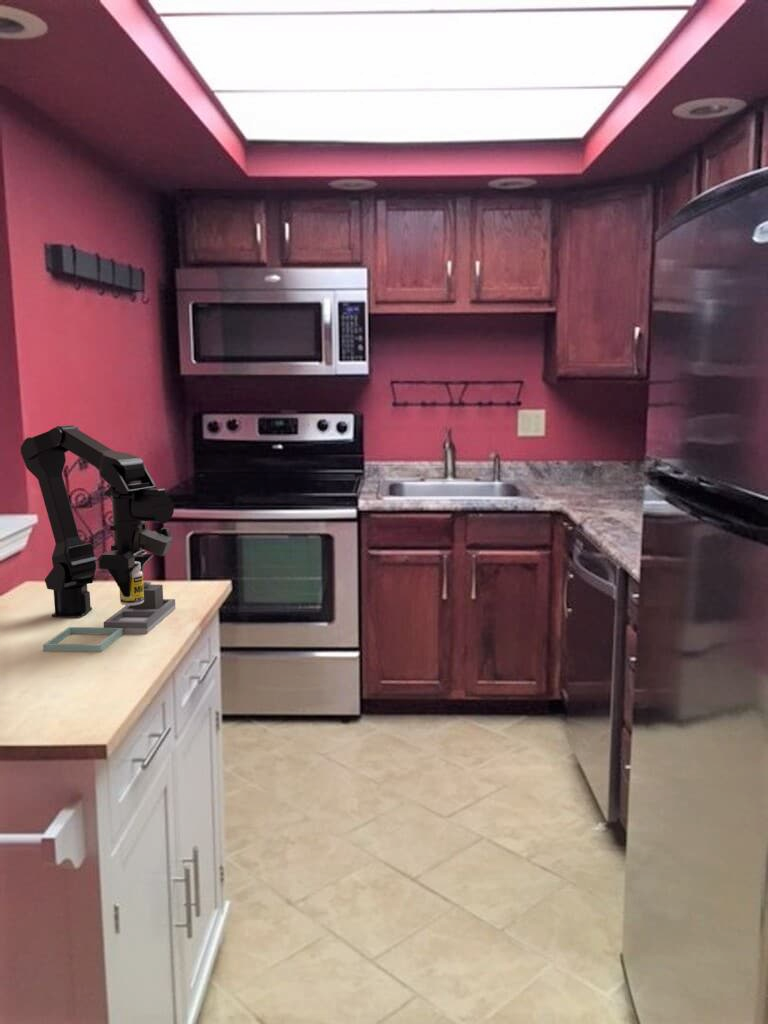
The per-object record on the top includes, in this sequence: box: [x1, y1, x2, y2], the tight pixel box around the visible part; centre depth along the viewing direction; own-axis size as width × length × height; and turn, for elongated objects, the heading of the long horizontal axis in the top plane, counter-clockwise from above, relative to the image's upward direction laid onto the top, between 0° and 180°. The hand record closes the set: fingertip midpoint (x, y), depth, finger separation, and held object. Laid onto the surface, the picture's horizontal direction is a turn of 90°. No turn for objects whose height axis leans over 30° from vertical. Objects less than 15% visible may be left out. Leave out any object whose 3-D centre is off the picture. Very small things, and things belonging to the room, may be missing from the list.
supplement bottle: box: [119, 561, 144, 606], centre depth 173 cm, size 5×5×8 cm
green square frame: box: [42, 626, 124, 653], centre depth 164 cm, size 11×11×1 cm
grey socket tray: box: [103, 598, 177, 634], centre depth 179 cm, size 9×18×2 cm, turn 176°
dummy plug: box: [133, 580, 164, 609], centre depth 183 cm, size 5×5×6 cm
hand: (131, 593), depth 173 cm, fingers closed on supplement bottle, 5 cm apart
